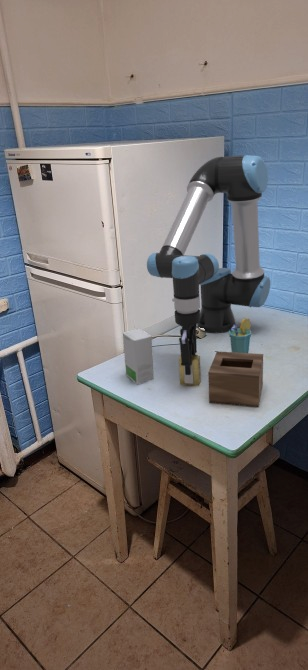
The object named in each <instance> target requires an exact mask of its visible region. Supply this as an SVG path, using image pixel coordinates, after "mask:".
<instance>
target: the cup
mask: <svg viewBox="0 0 308 670" xmlns="http://www.w3.org/2000/svg"><path fill="white" fill-rule="evenodd" d="M251 326H252V323H251V320H250V318H243V319H242V321H241V322H240V327H238V326H237V325H236V324H235V325H233V327H232V328H231V330H229V331H228V336H229V338H230V348H231V352H236V353H249V352H250V342H251V337H252V331H251Z"/></svg>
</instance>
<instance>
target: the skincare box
mask: <svg viewBox="0 0 308 670" xmlns="http://www.w3.org/2000/svg"><path fill="white" fill-rule="evenodd" d="M122 339H123V352H124V364H125V376H126V377H127V378H129V379H131V380H132V381H133V382H134V384H136V385H140V384H143V383H146V382H149V381H152V380H154V358H153V357H154V356H153V337H152V335H150V334H149V333H147V331H144V330H143V329H142V328H139V327H138V328H135V329H131V330H128V331H123V332H122Z"/></svg>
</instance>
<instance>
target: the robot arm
mask: <svg viewBox="0 0 308 670" xmlns="http://www.w3.org/2000/svg"><path fill="white" fill-rule="evenodd" d="M268 175H269V173H268V168H267V164H266V163H265V161H264V159H263V157H261V156H258V155H249V154H246V155H244V154H243V155H232V156H217V157H214V158H211V159H210V160H207V161H206V162H205V163H204V164H203V165H201V166H200V167H199V168H198V169H197V170H196V171H195V172H194V174H193V175H192V177H191V178H190V180H189V182H188V183H187V186H186V192H187V193H186V195H185V198H184V200H183V201H182V203H181V206H180V209H179V210H178V213H177V215H176V216H175V219H174V221H173V223H172V225H171V228H170V230H169V232H168V233H167V236H166V238H165V240H164V242H163V244H162V247H161V248H160V250H159V252H153V253H151V254H149V256H148V258H147V260H146V270H147V272H148V274H150V276H152V277H157V278H161V279H163V278H165V279H172V286H173V298H172V302H173V305H174V308H173V309H174V310H175V311H174V321H175V323H176V324H177V325H178V326H181V328H180V330H179V334H180V336H181V337H180V336H179V338H178V342H179V346H180V347H179V348H180V355H181V362H182V363H181V365H182V366H184V380H185V383H192V384H193V383H194V379H193V364H192V355H197V353H198V350H197V328H198V327H200V328H204V329H205V331H206V332H205V333H210V334H220V333H226V332H229V330H231V328H232V327H233V325H236V319H235V316H234V313H233V310H232V306H233V305H236V306H242V307H247V308H261V307H262V306H264V305H265V303H266V301H267V299H268V297H269V295H270V294H269V293H270V289H271V279H270V277H269V276H265V270H264V268H262V267H261V266H260V263H261V262H260V240H259V239H260V238H259V234H260V233H259V209H258V208H259V207H258V201H259V200H261V198H262V196H263V193H264V192H266V191H267V188H268V182H269V176H268ZM222 193H223V194H226V200H227V201H228V202H229V204H231V209H232V211H231V212H232V225H233V227H232V228H233V238H234V239H233V241H234V244H233V245H234V257H235V259H234V260H235V268H234V269H233V270H232V271H231V269H230V268H228V267H221V268H220V264H219V263H220V262H219V261H218V259H217V258H216V257H215V256H214V255H213V254H211V253H203V254H202V253H201V254H200V255H188V254H187V255H185V253H186V251H187V249H188V247H189V245H190V243H191V240H192V238H193V235H194V233H195V231H196V229H197V227H198V224H199V222H200V220H201V218H202V216H203V214H204V211H205V210H206V207H207V205H208V203H209V202H211V201H212V200H213V198H214V196H215V195H216V194H222ZM200 308H201V309H200Z"/></svg>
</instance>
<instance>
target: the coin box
mask: <svg viewBox="0 0 308 670" xmlns="http://www.w3.org/2000/svg"><path fill="white" fill-rule="evenodd" d="M207 372H208V375H207V376H208V401H209V404H217V405H218V404H219V405H227V406H228V405H229V406H238V407H239V406H240V407H251V408H260V402H261V396H262V389H263V386H264V385H263V383H264V381H263V380H264V353H252V352H250V353H249V352H248V353H236V352H232V351H231V352H230V351H216V352H215V355H214V357H213V360H212V363H211V364H210V367H209V370H208V371H207Z"/></svg>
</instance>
